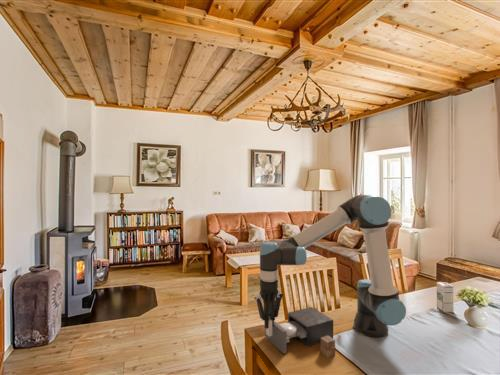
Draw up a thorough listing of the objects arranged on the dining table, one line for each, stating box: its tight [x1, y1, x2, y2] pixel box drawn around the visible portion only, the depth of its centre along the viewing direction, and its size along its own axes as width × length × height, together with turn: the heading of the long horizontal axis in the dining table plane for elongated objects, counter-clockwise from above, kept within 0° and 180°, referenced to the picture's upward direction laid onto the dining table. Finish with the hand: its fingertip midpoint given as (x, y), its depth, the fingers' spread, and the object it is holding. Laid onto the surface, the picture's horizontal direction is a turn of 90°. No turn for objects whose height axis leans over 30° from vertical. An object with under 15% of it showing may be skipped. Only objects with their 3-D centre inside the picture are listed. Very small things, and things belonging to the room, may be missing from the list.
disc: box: [279, 322, 297, 337], centre depth 122 cm, size 8×8×2 cm
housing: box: [287, 306, 334, 348], centre depth 128 cm, size 14×15×8 cm
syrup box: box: [436, 281, 455, 313], centre depth 154 cm, size 6×6×14 cm
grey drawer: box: [264, 317, 307, 354], centre depth 123 cm, size 15×15×9 cm
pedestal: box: [320, 336, 336, 358], centre depth 113 cm, size 4×4×6 cm
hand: (269, 334), depth 118 cm, fingers closed
